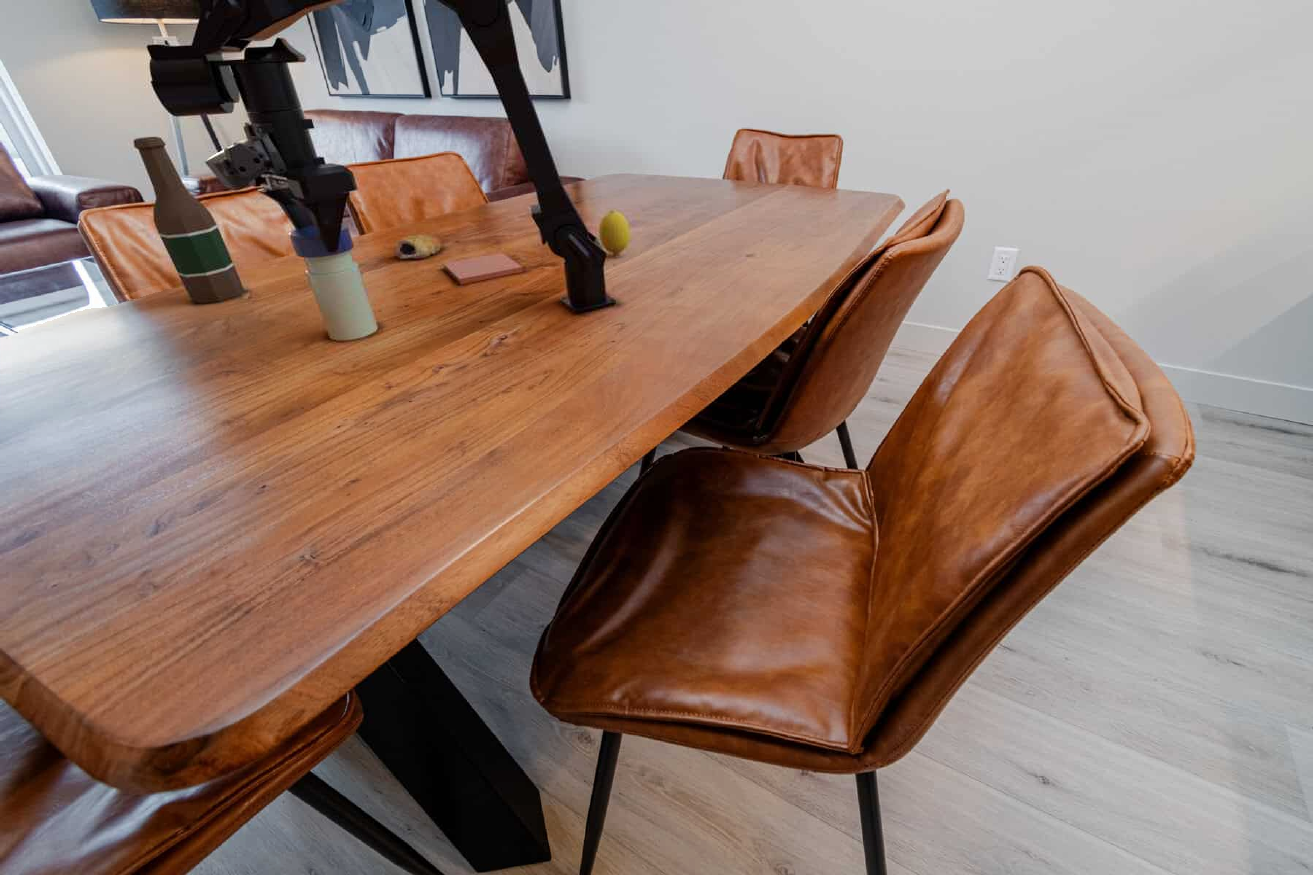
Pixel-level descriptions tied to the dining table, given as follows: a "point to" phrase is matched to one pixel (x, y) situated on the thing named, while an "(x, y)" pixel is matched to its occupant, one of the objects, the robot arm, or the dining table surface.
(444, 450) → the dining table surface
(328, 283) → the jar
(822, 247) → the dining table surface
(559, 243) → the robot arm
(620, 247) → the lemon
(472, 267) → the coaster
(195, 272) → the beer bottle
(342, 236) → the jar lid
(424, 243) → the pastry
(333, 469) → the dining table surface
